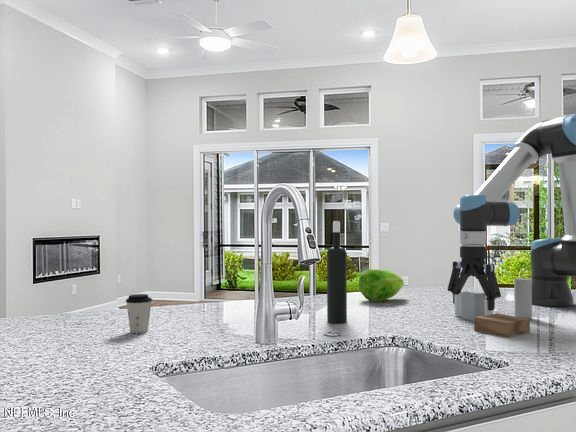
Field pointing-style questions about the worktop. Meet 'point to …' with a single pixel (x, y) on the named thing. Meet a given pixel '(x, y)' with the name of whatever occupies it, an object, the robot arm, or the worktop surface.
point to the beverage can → (523, 297)
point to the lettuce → (379, 284)
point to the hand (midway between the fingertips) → (473, 318)
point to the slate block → (472, 304)
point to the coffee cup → (138, 312)
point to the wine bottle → (336, 280)
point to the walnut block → (502, 325)
